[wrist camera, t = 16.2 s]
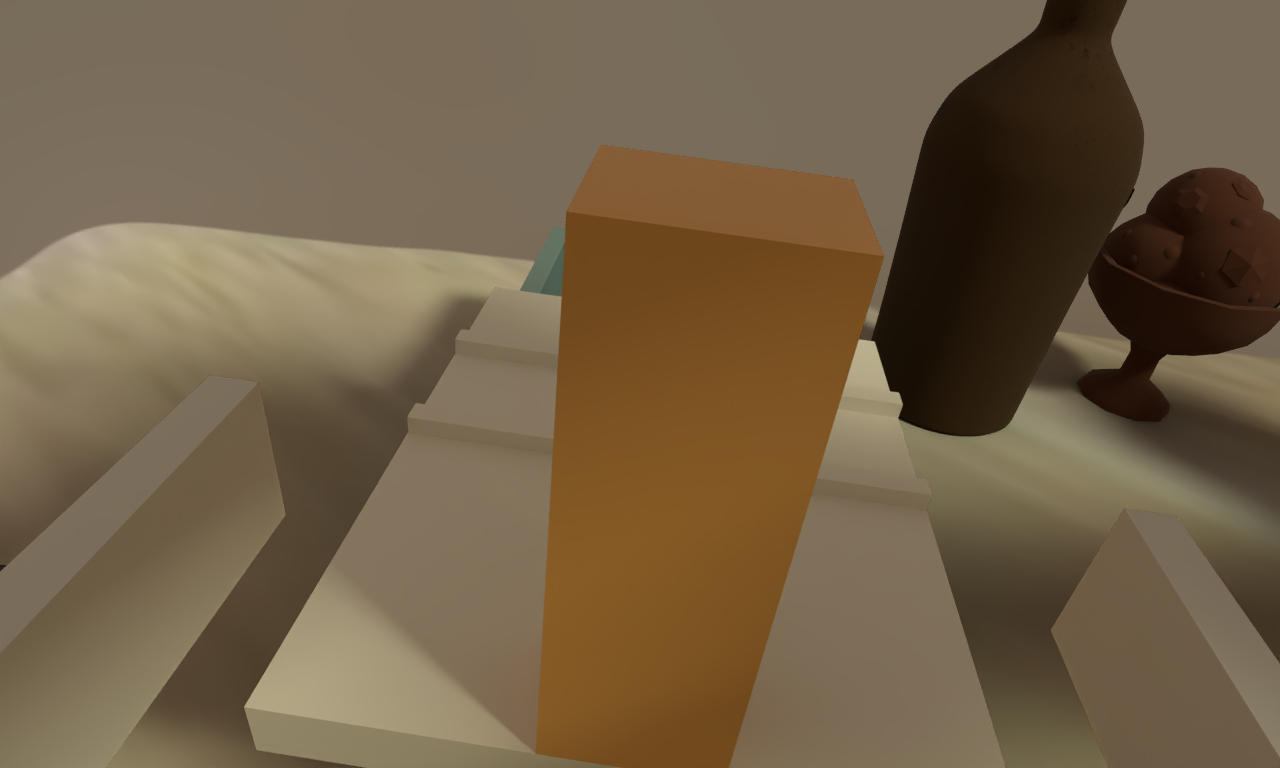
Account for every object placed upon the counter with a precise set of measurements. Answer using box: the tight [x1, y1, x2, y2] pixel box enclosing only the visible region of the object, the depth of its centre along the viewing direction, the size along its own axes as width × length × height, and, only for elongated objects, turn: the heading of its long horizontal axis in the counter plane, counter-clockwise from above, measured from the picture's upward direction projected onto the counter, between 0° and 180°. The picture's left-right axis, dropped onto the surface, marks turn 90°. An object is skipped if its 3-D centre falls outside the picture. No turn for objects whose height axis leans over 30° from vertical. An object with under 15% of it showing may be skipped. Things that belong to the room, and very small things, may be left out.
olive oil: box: [871, 0, 1144, 436], centre depth 43 cm, size 11×11×25 cm
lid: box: [244, 145, 1006, 768], centre depth 22 cm, size 17×21×14 cm
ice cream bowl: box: [1077, 168, 1280, 421], centre depth 47 cm, size 11×11×15 cm
